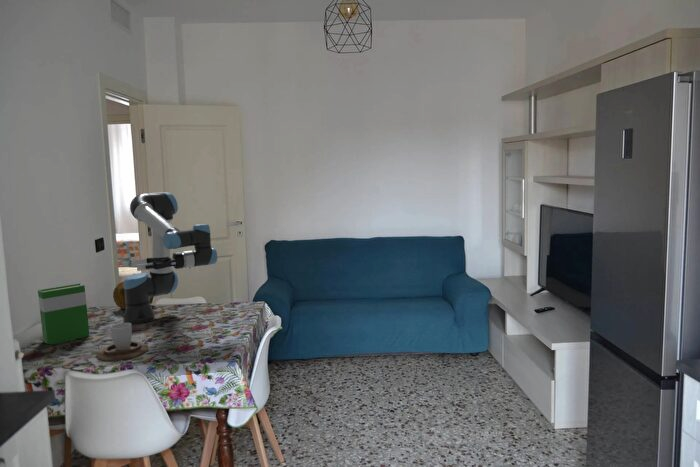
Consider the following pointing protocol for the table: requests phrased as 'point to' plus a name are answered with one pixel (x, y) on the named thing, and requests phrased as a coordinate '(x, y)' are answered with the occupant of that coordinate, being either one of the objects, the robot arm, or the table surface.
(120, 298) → the decorative pumpkin
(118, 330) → the cup
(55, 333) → the hardback book
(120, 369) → the table surface
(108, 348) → the round tray
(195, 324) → the table surface
